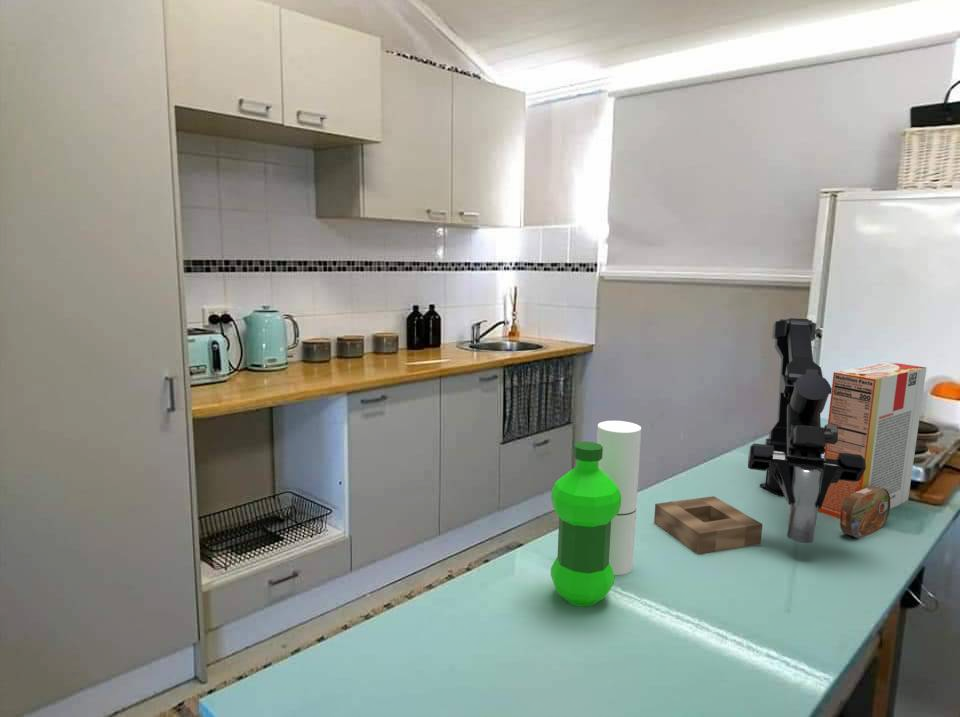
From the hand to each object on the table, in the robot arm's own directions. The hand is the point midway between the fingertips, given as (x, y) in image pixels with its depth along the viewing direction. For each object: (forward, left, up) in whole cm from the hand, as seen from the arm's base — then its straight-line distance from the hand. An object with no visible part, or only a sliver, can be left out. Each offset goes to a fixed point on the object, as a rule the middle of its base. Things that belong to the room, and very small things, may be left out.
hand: (804, 505), depth 115 cm
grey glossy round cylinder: (-1, +1, -7) cm, 7 cm away
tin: (-6, +22, -11) cm, 25 cm away
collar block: (-14, -9, -10) cm, 20 cm away
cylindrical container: (-8, -33, -10) cm, 36 cm away
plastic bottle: (0, -43, -10) cm, 44 cm away
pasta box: (-16, +33, -10) cm, 38 cm away
